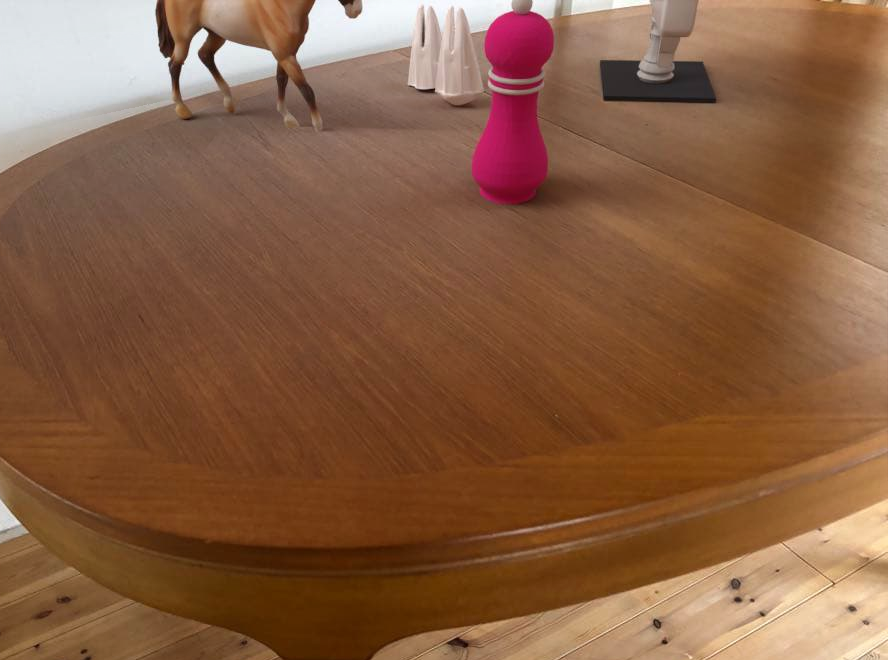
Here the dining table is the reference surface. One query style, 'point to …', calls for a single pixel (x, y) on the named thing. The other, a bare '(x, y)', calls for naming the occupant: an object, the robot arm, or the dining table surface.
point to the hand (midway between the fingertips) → (660, 52)
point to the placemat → (682, 87)
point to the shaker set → (445, 57)
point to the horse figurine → (241, 41)
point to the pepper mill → (514, 107)
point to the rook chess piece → (654, 62)
